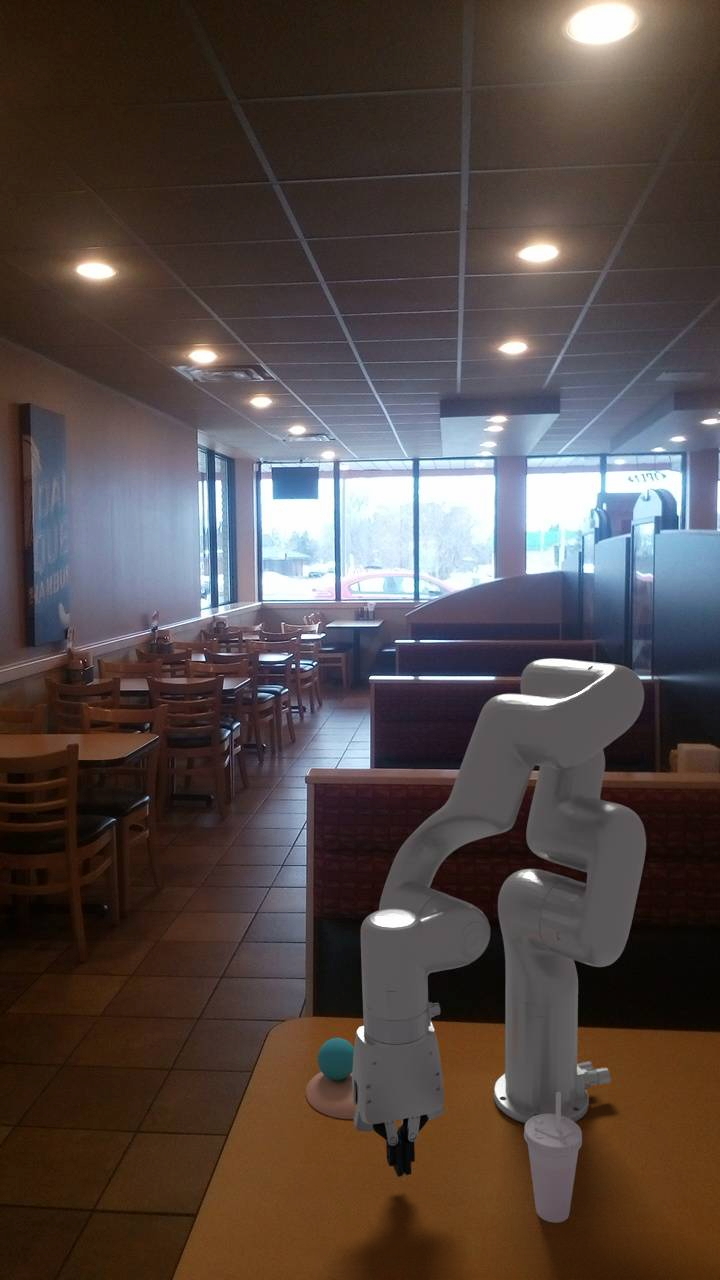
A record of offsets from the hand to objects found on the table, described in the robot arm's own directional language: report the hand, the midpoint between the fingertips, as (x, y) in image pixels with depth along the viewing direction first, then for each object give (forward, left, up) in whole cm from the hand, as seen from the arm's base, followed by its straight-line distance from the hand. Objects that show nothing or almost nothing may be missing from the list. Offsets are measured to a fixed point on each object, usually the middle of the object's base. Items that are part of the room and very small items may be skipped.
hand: (400, 1167), depth 110 cm
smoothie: (-15, +8, -3) cm, 18 cm away
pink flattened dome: (+1, -21, -2) cm, 21 cm away
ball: (+2, -25, 0) cm, 25 cm away
